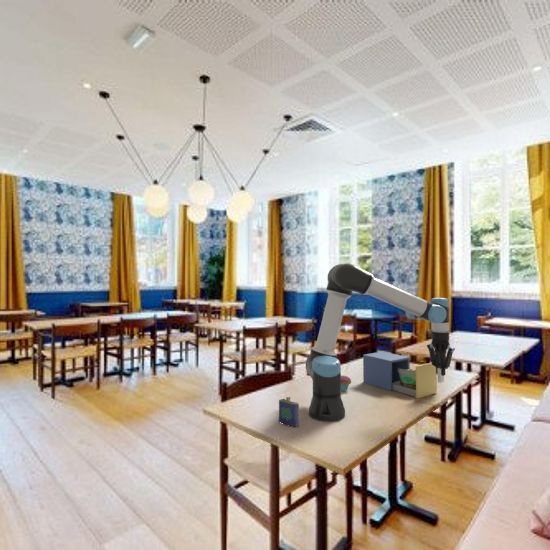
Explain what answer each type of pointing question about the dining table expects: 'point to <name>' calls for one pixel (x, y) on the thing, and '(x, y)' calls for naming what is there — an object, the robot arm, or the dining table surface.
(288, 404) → the flask
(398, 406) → the dining table surface
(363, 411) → the dining table surface
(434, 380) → the tan boxy piece
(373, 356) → the open box
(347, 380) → the cupcake
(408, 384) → the food container
